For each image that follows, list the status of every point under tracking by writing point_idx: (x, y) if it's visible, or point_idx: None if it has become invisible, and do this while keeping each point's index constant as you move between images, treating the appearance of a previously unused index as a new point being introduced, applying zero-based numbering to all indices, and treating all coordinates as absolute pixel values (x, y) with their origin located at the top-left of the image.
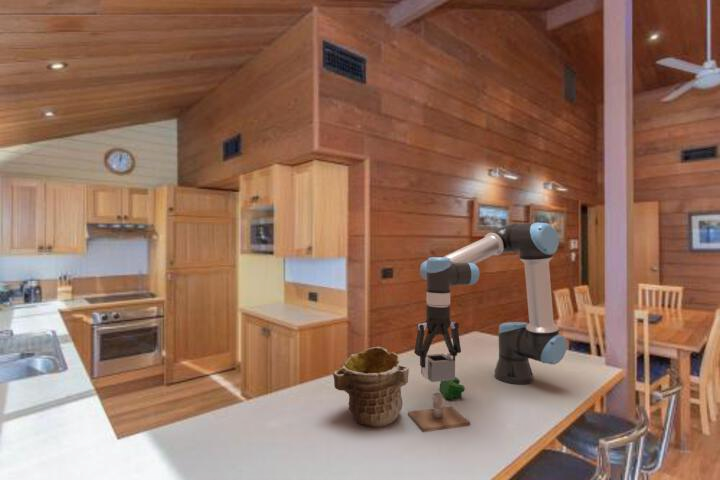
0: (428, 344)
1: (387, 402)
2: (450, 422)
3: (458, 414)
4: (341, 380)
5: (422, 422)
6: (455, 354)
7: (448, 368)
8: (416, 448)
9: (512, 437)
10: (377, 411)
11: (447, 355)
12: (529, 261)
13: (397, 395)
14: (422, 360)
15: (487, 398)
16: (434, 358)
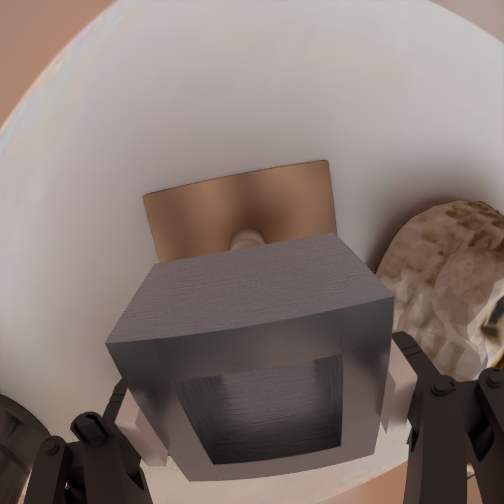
0: (449, 499)
1: (470, 217)
2: (214, 196)
3: (166, 255)
4: None
5: (317, 205)
6: (87, 423)
7: (191, 295)
8: (368, 70)
9: (53, 117)
10: (478, 206)
11: (163, 451)
12: None
13: (439, 255)
14: (427, 364)
15: (65, 358)
16: (272, 442)
